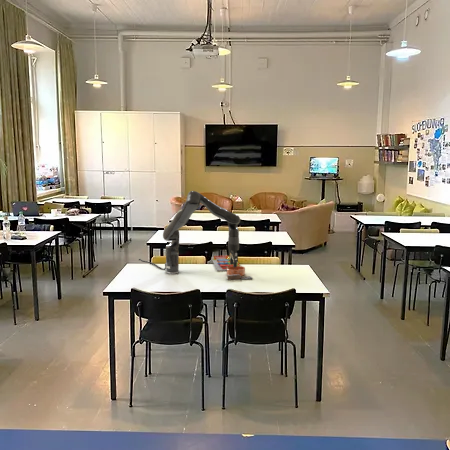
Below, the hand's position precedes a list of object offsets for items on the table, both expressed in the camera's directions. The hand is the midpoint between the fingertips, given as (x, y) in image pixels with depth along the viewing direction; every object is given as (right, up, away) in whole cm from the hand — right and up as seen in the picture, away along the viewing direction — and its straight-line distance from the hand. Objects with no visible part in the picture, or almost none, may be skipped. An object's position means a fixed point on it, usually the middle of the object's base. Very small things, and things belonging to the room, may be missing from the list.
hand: (233, 265), depth 311 cm
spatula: (+5, -9, +2) cm, 11 cm away
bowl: (+2, -8, +14) cm, 16 cm away
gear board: (-5, -3, +47) cm, 47 cm away
